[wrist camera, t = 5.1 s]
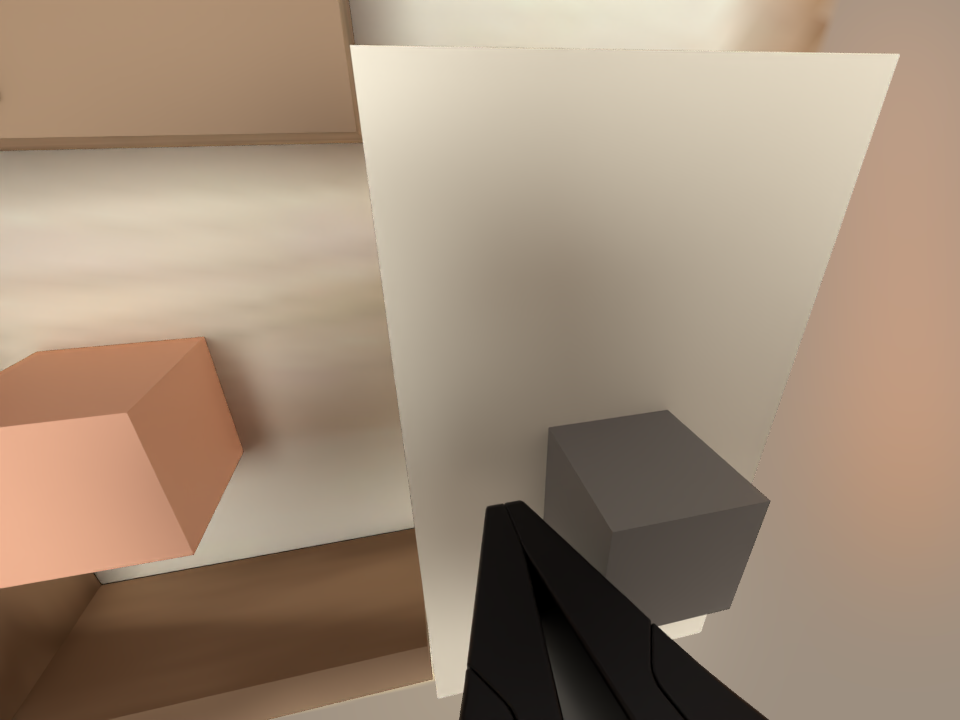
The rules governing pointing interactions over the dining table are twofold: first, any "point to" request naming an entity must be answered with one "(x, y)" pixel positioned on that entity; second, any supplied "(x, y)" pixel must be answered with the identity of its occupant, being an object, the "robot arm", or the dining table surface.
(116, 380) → the block
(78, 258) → the dining table surface
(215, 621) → the brown shallow open box
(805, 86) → the cover
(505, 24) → the dining table surface
